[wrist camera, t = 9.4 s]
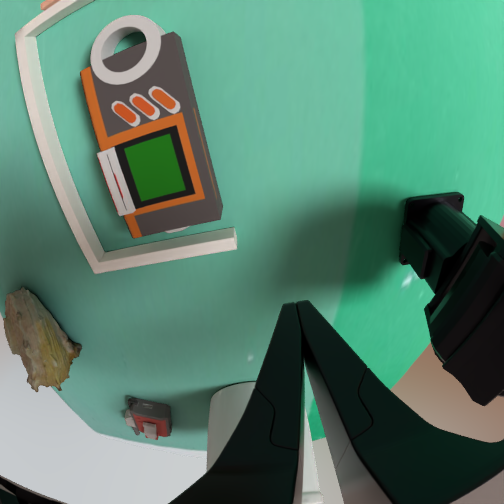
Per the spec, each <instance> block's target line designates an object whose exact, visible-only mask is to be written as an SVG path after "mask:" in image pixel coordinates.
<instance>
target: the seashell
mask: <svg viewBox="0 0 504 504" xmlns="http://www.w3.org/2000/svg"><path fill="white" fill-rule="evenodd" d="M6 299H7V300H6V301H5V306H6V309H5V315H6V318H3V320H4V329H5V334H6V338H7V341H8V343H9V346H10V348H11V351H12V353H13V354H18V355H20V356H21V358H22V361H23V365H24V366H25V368H26V371H27V373H28V379H27V382H29V384H30V385H31V386H32V387H31V388H32V389H34V390H35V391H36V392H38V387H39V386H40V385H43V386H46V387H49V386H55V387H56V388H57V389H58V390H59V391H62V389H61V387H60V384H61V383H62V382H64V380H65V379H66V378H69V375H68V374H69V371H70V365H72V363H73V362H72V360H73V358H77V357H78V356H79V354H80V351H81V349H82V346H81V345H80V344H77V343H74V342H72V341H71V340H69V339H68V337H67V335H66V334H65V332H64V331H62V330H61V329H60V327H59V325H58V323H57V322H56V321H55V320H54V319H53V317H52V315H51V314H50V312H49V311H48V310H46V309H45V307H44V306H43V305H42V304H41V302H40V301H39V300H38V298H37V297H36V296H35V295H34V294H32V293H30V292H29V290H25V288H24V287H22V288H21V290H18V291H17V290H16V291H15V292H13V293H9V294H7V297H6Z"/></svg>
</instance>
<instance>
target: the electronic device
mask: <svg viewBox="0 0 504 504" xmlns="http://www.w3.org/2000/svg"><path fill="white" fill-rule="evenodd" d="M134 32H143V33H144V35H145V37H146V40H147V41H145V42H142V43H140V44H137V45H135V46H132V47H130V48H128V49H125V50H123V51H121V52H118V53H116V54H114V50H115V48H116V46H117V44H118V43H119V41H120V40H121V39H122V38H124V37H125V36H127V35H128V34H131V33H134ZM113 54H114V55H113ZM90 59H91V66H90V67H88V68H86V69H84V70H82V71H81V72H80V76H81V80H82V85H83V89H84V94H85V98H86V102H87V106H88V110H89V114H90V117H91V121H92V125H93V128H94V132H95V135H96V139H97V142H98V145H99V148H100V152H99V153H97V157H98V160H99V163H100V166H101V169H102V172H103V175H104V178H105V180H106V183H107V186H108V189H109V192H110V194H111V197H112V200H113V202H114V205H115V207H116V210H117V213H118V215H119V216H122V215H123V216H124V219H125V221H126V224H127V226H128V229H129V231H130V234H131V236H132V238H138V237H142V236H146V235H151V234H155V233H160V232H167V233H172V232H177V231H182V230H184V229H186V228H187V227H189V226H192V225H197V224H201V223H206V222H211V221H216V220H221V215H222V210H223V204H222V200H221V197H220V193H219V189H218V185H217V181H216V177H215V173H214V169H213V166H212V162H211V158H210V154H209V150H208V146H207V142H206V138H205V134H204V130H203V126H202V122H201V118H200V114H199V110H198V106H197V102H196V98H195V94H194V90H193V86H192V82H191V78H190V74H189V70H188V66H187V62H186V57H185V53H184V49H183V45H182V41H181V37H180V36H178V35H177V34H176V33H175V32H171V33H168V34H166V33H165V32H164V30H163V29H162V28H161V27H160V26H159V25H157V24H156V23H154V22H153V21H151V20H150V19H148V18H146V17H144V16H140V15H129V16H124V17H121V18H118V19H116V20H114V21H113V22H111V23H110V24H108V25H107V26H106V27H105V28H104V29H103V30H102V31H101V32H100V33H99V35H98V36H97V38H96V40H95V42H94V44H93V46H92V50H91V57H90Z"/></svg>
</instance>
